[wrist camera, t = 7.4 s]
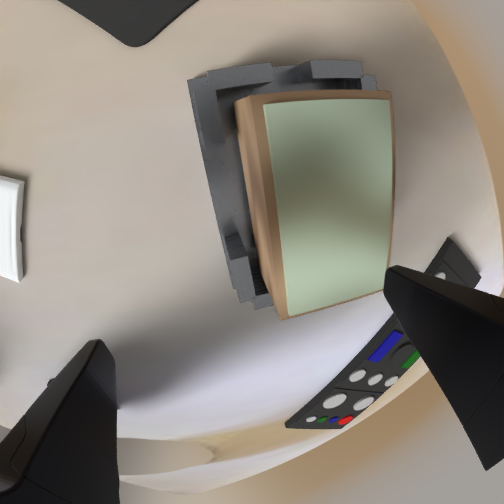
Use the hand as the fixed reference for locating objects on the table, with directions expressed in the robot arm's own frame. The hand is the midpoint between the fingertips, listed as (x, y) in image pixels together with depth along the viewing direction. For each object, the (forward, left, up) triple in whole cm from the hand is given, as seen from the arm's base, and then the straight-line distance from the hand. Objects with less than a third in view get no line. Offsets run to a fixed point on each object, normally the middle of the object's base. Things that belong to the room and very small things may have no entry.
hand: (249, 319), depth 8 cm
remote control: (-23, -16, -12) cm, 30 cm away
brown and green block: (+1, -5, -9) cm, 10 cm away
